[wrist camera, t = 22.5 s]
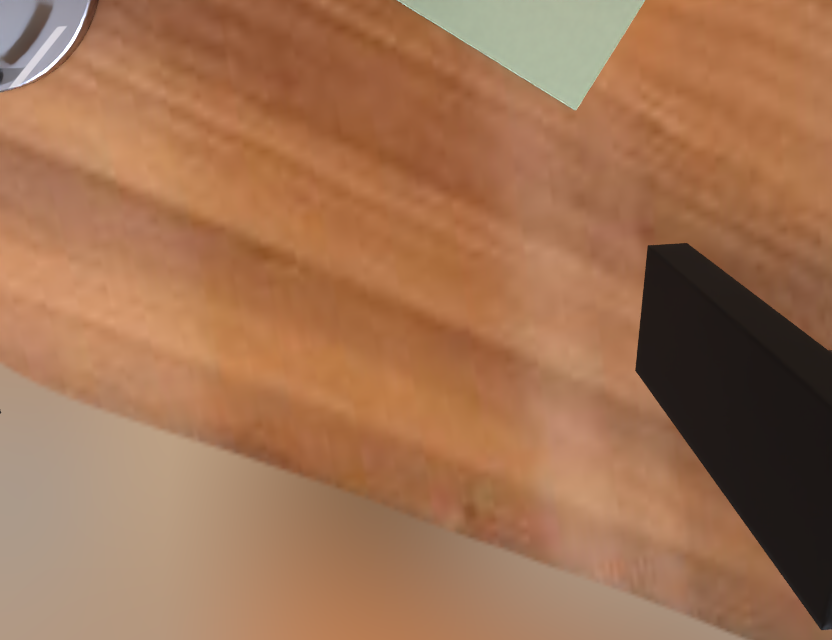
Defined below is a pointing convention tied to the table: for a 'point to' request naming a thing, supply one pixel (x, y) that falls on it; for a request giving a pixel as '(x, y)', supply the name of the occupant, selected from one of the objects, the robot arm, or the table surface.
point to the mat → (539, 36)
